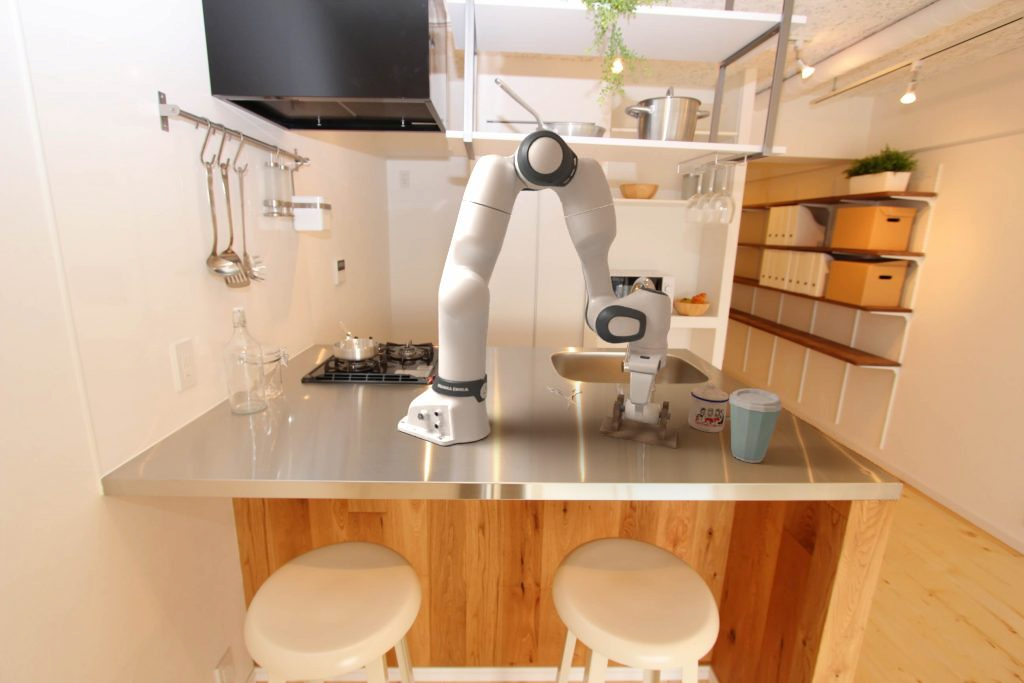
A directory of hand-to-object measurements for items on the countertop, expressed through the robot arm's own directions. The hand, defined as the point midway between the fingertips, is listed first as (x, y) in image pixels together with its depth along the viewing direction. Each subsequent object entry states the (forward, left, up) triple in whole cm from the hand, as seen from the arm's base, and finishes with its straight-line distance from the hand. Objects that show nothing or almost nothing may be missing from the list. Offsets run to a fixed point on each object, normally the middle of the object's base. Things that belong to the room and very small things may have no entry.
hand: (640, 410), depth 117 cm
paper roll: (0, 0, 0) cm, 0 cm away
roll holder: (0, 0, -6) cm, 6 cm away
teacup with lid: (+17, +13, -6) cm, 22 cm away
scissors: (-22, +16, -7) cm, 28 cm away
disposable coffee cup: (+24, -2, -6) cm, 25 cm away
